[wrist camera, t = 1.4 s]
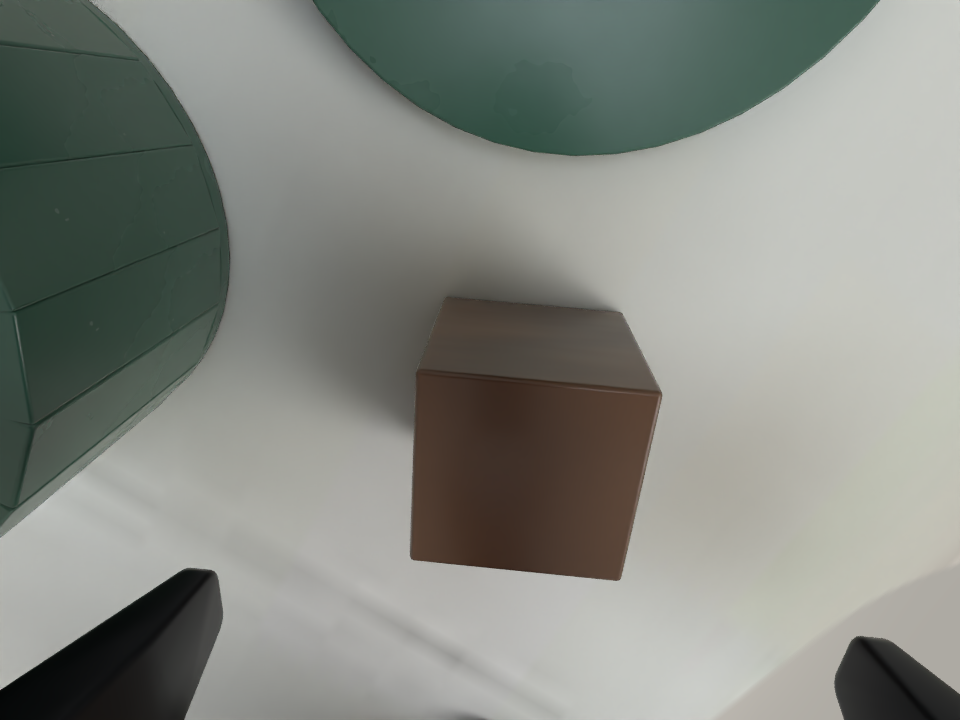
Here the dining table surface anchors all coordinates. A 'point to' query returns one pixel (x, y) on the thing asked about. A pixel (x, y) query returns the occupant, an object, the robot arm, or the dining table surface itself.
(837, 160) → the dining table surface
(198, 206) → the tin
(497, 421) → the block
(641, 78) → the tin lid
